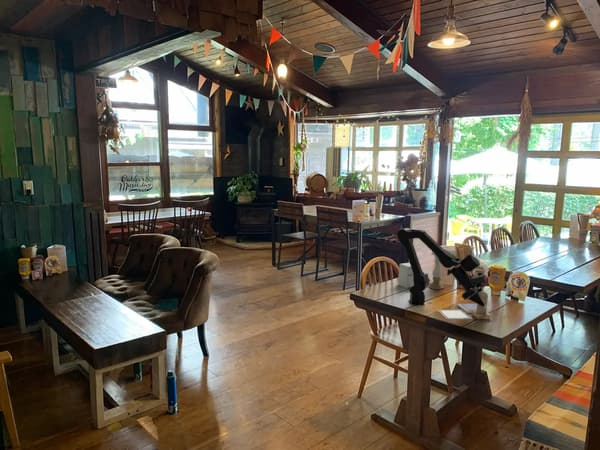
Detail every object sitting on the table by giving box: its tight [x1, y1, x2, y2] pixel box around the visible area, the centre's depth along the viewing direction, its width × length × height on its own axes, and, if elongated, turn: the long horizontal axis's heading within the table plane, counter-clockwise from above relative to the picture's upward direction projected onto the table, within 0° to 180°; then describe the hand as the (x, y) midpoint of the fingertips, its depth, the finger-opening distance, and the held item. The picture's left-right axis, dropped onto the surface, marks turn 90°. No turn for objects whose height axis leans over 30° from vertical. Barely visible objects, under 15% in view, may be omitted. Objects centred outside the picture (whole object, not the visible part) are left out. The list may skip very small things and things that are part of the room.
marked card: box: [437, 309, 473, 320], centre depth 208 cm, size 12×12×1 cm
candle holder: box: [427, 251, 445, 290], centre depth 249 cm, size 9×9×20 cm
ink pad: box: [457, 303, 477, 314], centre depth 216 cm, size 10×10×2 cm
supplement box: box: [397, 262, 414, 289], centre depth 251 cm, size 7×7×13 cm
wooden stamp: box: [471, 290, 492, 321], centre depth 204 cm, size 6×6×13 cm
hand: (485, 304), depth 204 cm, fingers closed on wooden stamp, 4 cm apart
